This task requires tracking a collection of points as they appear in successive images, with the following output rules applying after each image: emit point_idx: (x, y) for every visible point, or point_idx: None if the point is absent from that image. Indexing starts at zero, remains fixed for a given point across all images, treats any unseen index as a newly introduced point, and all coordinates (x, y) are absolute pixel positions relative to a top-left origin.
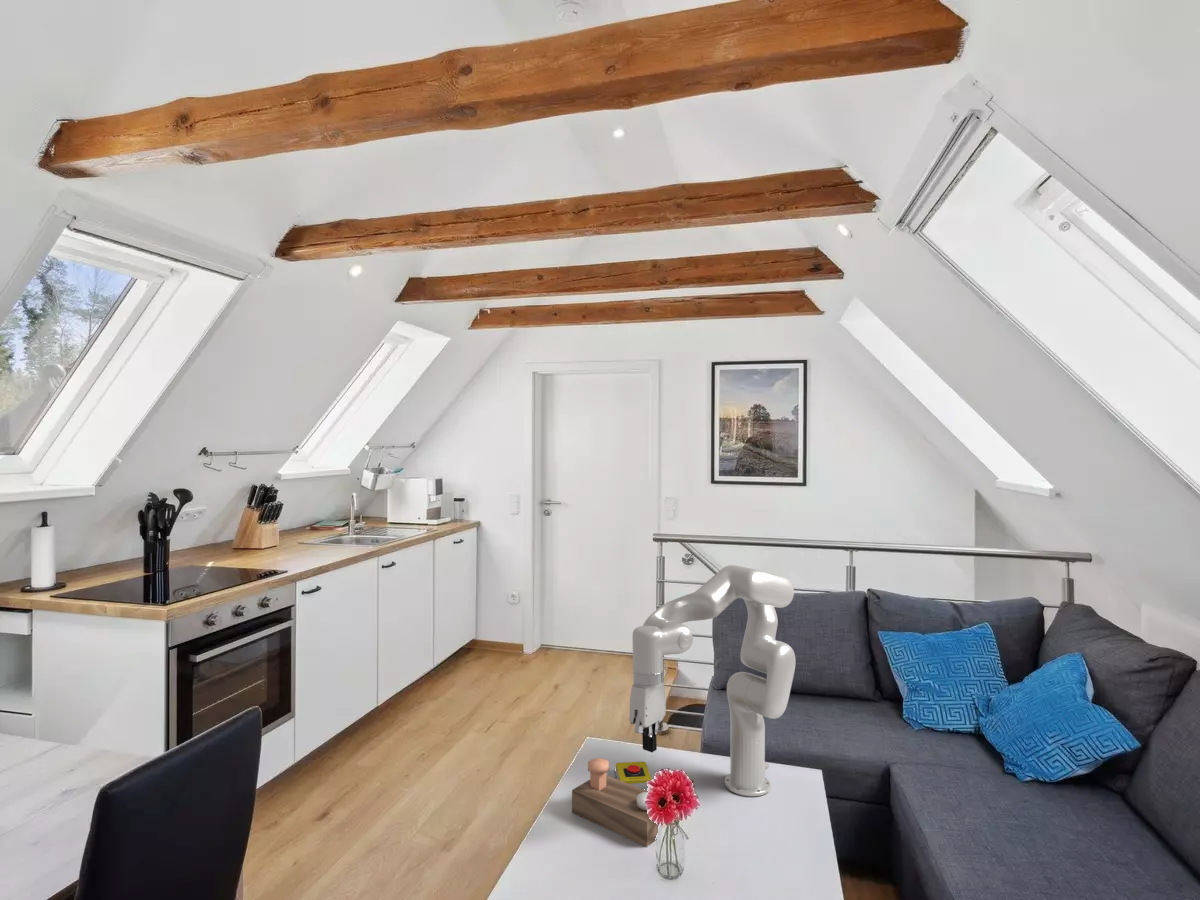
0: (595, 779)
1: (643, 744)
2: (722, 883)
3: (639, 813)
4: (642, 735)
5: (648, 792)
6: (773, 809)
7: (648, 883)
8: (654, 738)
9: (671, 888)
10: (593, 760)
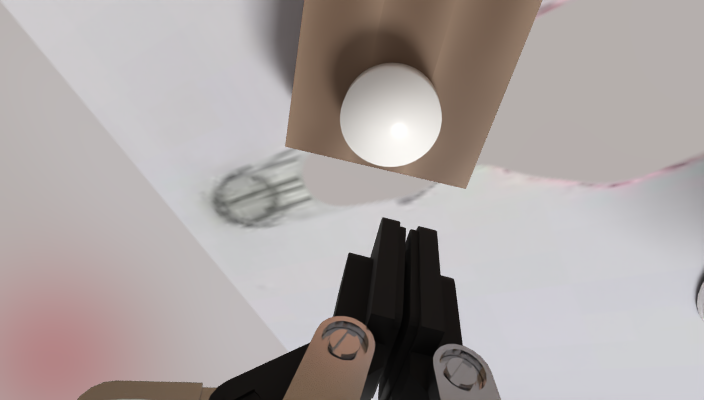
0: None
1: (376, 247)
2: (270, 301)
3: (323, 99)
4: (374, 296)
5: (436, 106)
6: (628, 350)
7: (169, 173)
8: (379, 382)
9: (189, 222)
10: None
